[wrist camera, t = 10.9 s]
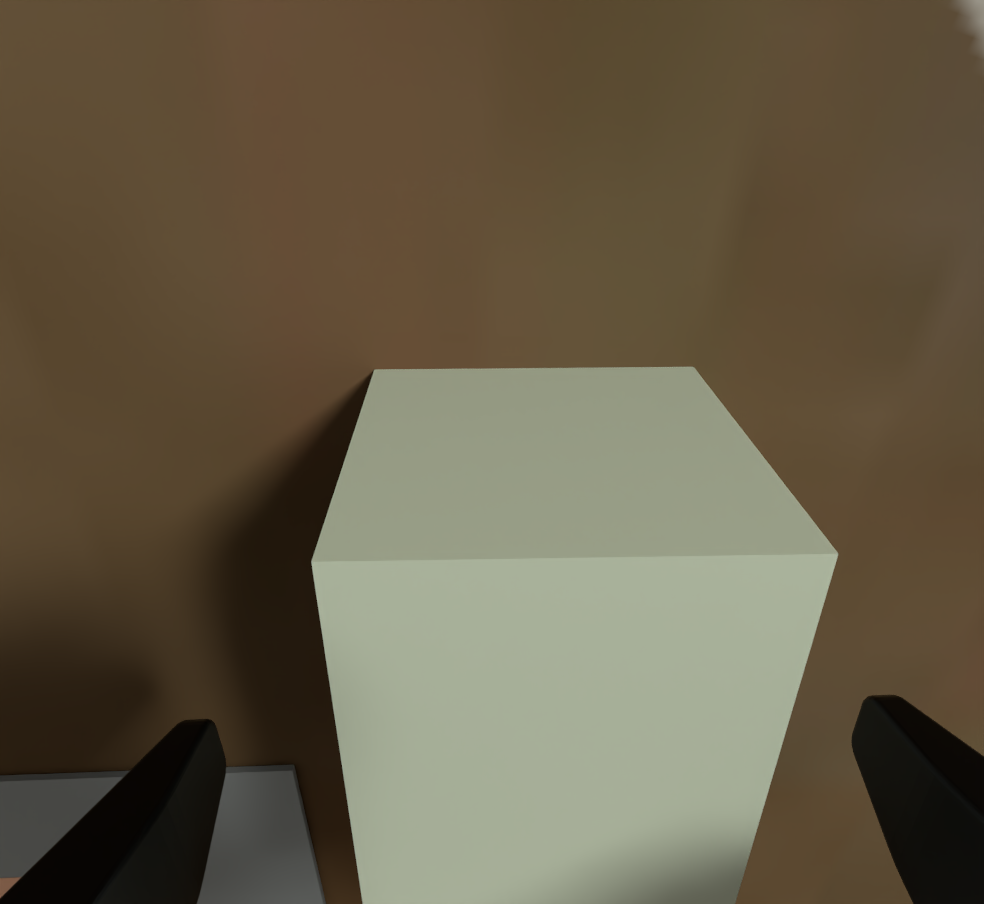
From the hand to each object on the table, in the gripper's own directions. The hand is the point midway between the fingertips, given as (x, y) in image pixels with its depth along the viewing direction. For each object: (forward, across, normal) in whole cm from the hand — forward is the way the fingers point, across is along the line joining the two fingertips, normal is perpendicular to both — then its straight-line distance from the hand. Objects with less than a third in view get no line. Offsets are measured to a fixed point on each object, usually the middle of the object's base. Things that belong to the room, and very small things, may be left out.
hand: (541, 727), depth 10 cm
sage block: (+4, 0, 0) cm, 4 cm away
